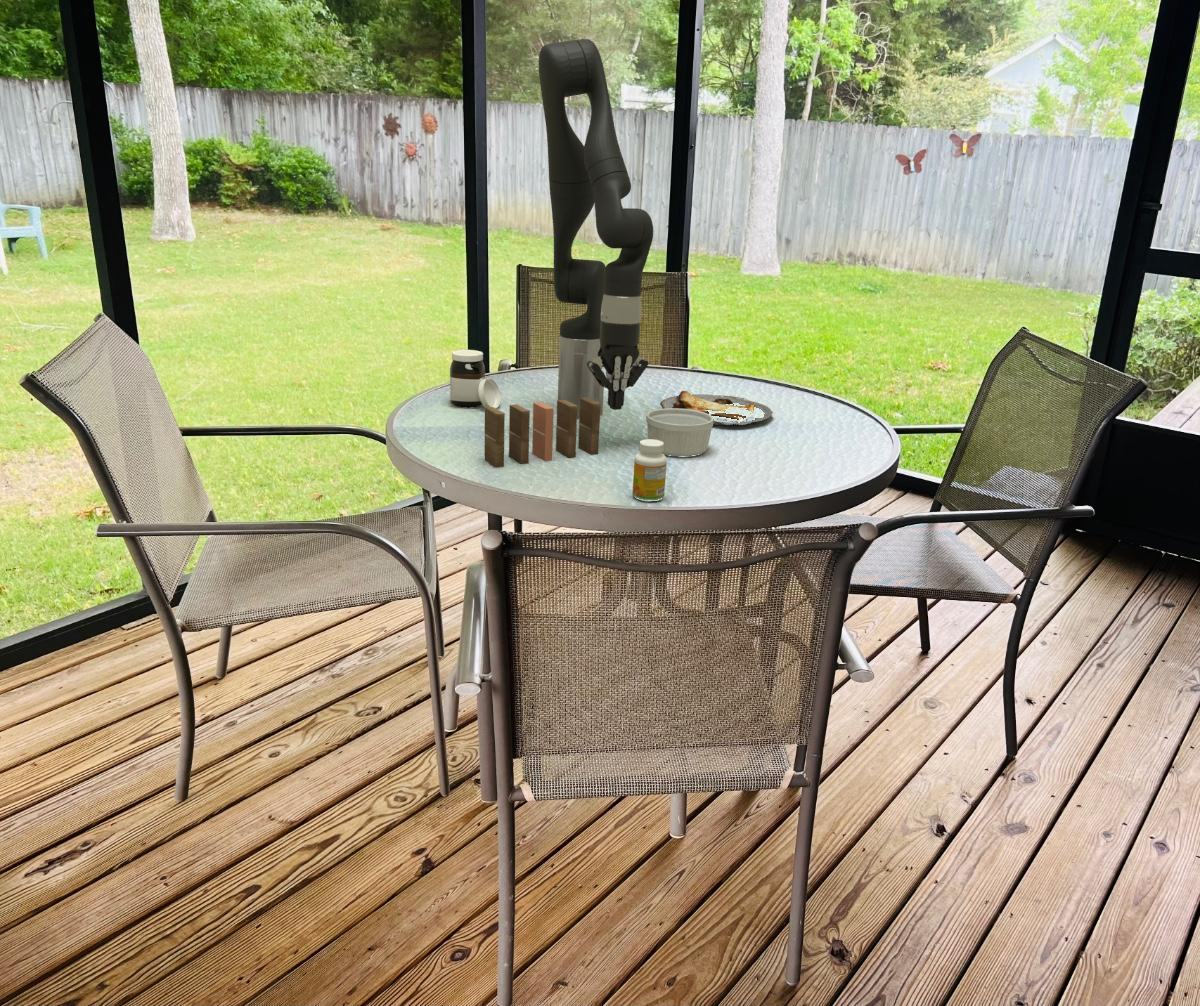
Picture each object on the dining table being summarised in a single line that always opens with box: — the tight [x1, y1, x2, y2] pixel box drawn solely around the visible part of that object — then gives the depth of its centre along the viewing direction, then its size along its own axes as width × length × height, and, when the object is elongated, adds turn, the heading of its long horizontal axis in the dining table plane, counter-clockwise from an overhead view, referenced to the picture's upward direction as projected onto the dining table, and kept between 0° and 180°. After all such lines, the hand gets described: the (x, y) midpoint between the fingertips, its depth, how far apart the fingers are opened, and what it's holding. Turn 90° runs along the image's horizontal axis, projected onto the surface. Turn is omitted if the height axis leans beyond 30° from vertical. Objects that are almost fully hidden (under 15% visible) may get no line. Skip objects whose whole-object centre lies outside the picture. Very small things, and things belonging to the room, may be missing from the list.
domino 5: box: [577, 398, 601, 456], centre depth 182 cm, size 2×5×10 cm, turn 31°
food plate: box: [659, 390, 774, 426], centre depth 214 cm, size 25×23×4 cm
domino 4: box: [555, 399, 578, 459], centre depth 180 cm, size 2×5×10 cm, turn 31°
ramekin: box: [645, 408, 715, 456], centre depth 187 cm, size 13×13×7 cm
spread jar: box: [449, 349, 502, 409], centre depth 211 cm, size 12×11×12 cm
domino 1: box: [484, 407, 506, 469], centre depth 172 cm, size 2×5×10 cm, turn 31°
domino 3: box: [531, 401, 555, 462], centre depth 177 cm, size 2×5×10 cm, turn 32°
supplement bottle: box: [631, 438, 668, 500], centre depth 159 cm, size 5×5×10 cm
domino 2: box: [508, 403, 531, 465], centre depth 175 cm, size 2×5×10 cm, turn 31°
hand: (615, 408), depth 184 cm, fingers closed
